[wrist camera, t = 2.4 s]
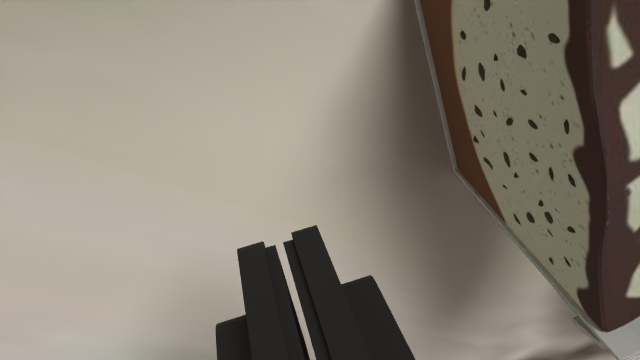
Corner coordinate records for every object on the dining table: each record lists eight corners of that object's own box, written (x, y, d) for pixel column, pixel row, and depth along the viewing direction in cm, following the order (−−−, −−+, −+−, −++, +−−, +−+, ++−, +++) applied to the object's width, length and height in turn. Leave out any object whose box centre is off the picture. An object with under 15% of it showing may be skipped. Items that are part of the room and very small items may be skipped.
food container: (582, 146, 23) (816, 289, 14) (459, 198, 23) (620, 374, 14) (562, -163, 16) (965, -246, 8) (392, -93, 16) (610, -99, 8)
